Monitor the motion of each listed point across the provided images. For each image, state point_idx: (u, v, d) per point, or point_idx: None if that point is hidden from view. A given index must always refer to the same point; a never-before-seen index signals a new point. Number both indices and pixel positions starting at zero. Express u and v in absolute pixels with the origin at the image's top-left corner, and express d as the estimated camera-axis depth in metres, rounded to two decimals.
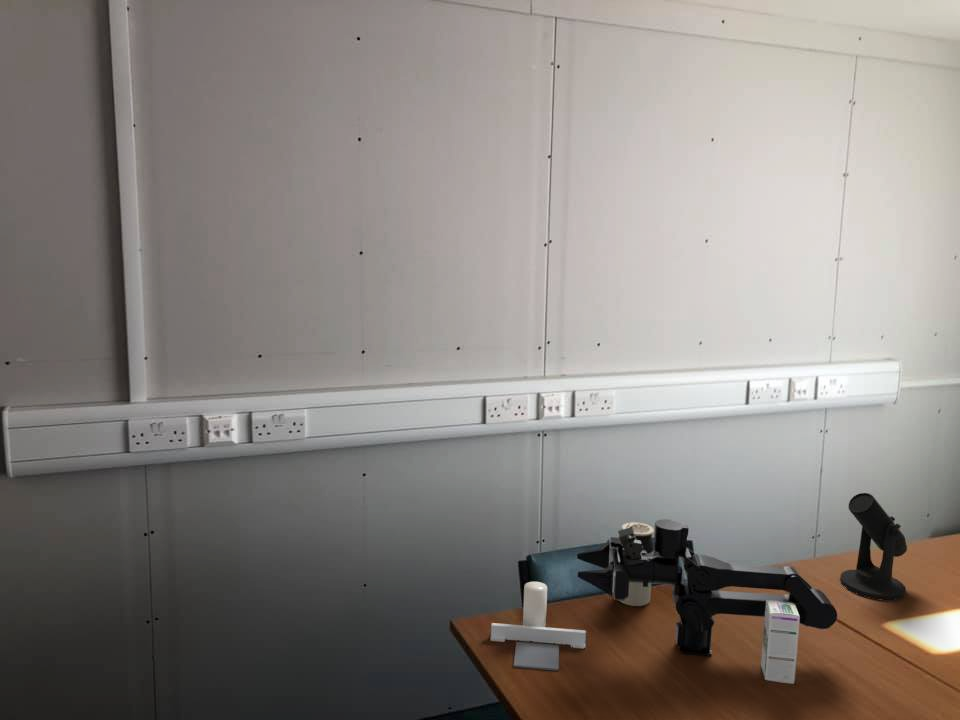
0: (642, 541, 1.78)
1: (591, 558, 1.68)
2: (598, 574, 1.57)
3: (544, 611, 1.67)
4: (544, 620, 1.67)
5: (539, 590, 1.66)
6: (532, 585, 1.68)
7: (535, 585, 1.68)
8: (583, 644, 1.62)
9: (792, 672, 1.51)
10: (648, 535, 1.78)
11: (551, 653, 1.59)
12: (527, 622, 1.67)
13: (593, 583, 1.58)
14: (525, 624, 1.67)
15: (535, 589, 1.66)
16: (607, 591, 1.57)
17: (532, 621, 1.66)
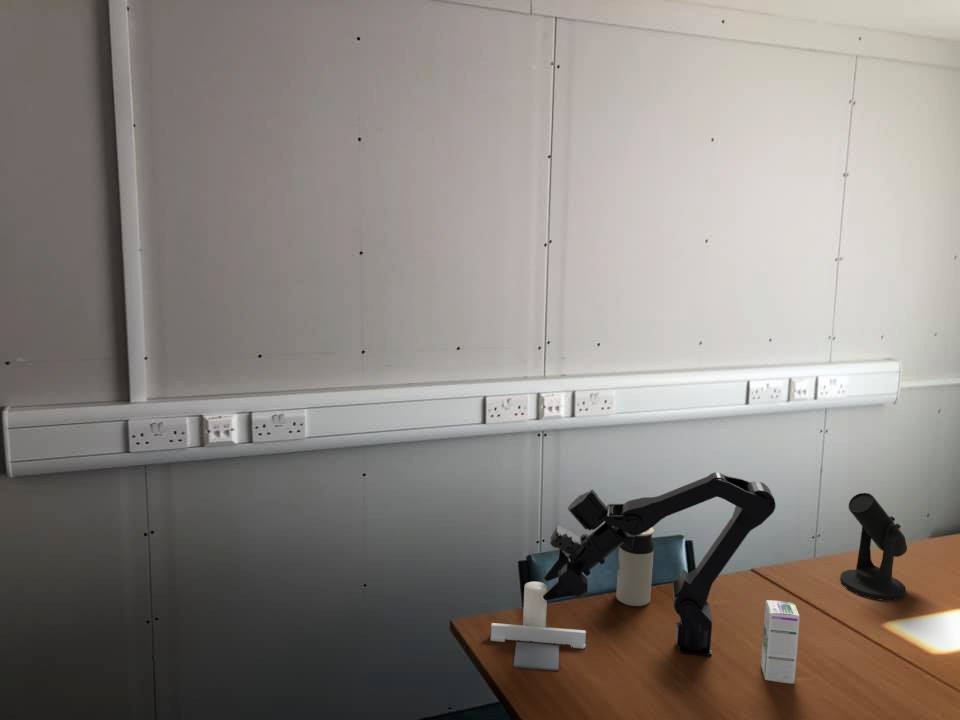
0: (642, 541, 1.78)
1: (557, 572, 1.71)
2: (556, 586, 1.60)
3: (544, 611, 1.67)
4: (544, 620, 1.67)
5: (539, 589, 1.66)
6: (532, 585, 1.68)
7: (536, 585, 1.68)
8: (583, 644, 1.62)
9: (792, 672, 1.51)
10: (648, 535, 1.78)
11: (551, 653, 1.59)
12: (527, 621, 1.67)
13: (559, 596, 1.61)
14: (525, 624, 1.67)
15: (535, 589, 1.66)
16: (573, 593, 1.60)
17: (532, 621, 1.66)
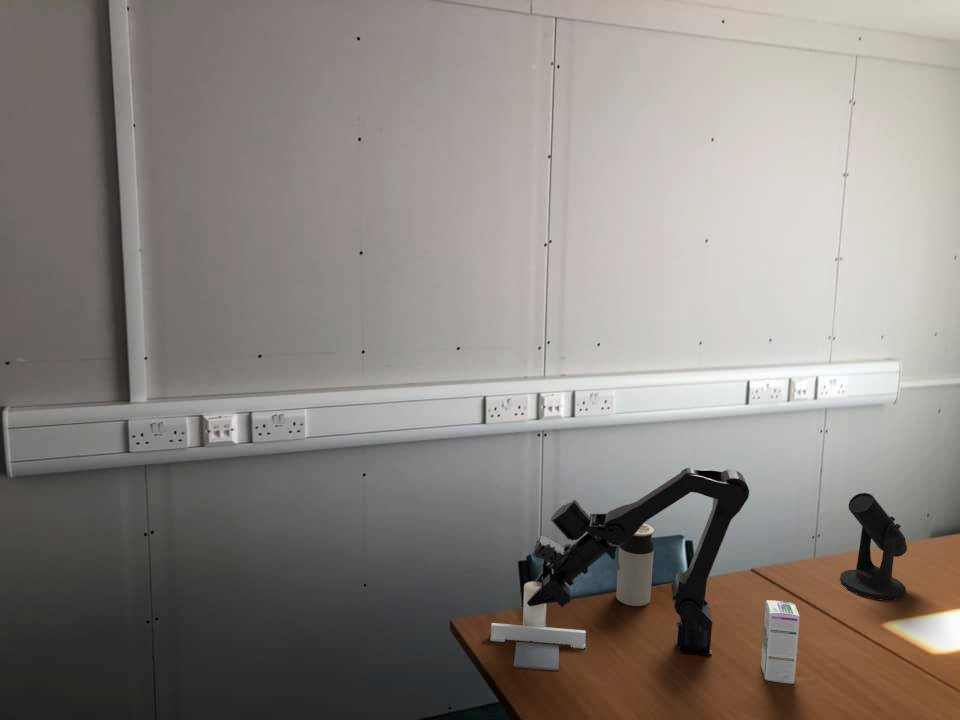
0: (642, 541, 1.78)
1: None
2: (539, 592, 1.63)
3: (544, 611, 1.67)
4: (544, 620, 1.67)
5: None
6: (532, 585, 1.68)
7: (535, 585, 1.68)
8: (583, 644, 1.62)
9: (792, 672, 1.51)
10: (648, 535, 1.78)
11: (551, 653, 1.59)
12: (527, 622, 1.67)
13: (543, 602, 1.64)
14: (525, 624, 1.67)
15: (535, 588, 1.66)
16: None
17: (532, 621, 1.66)
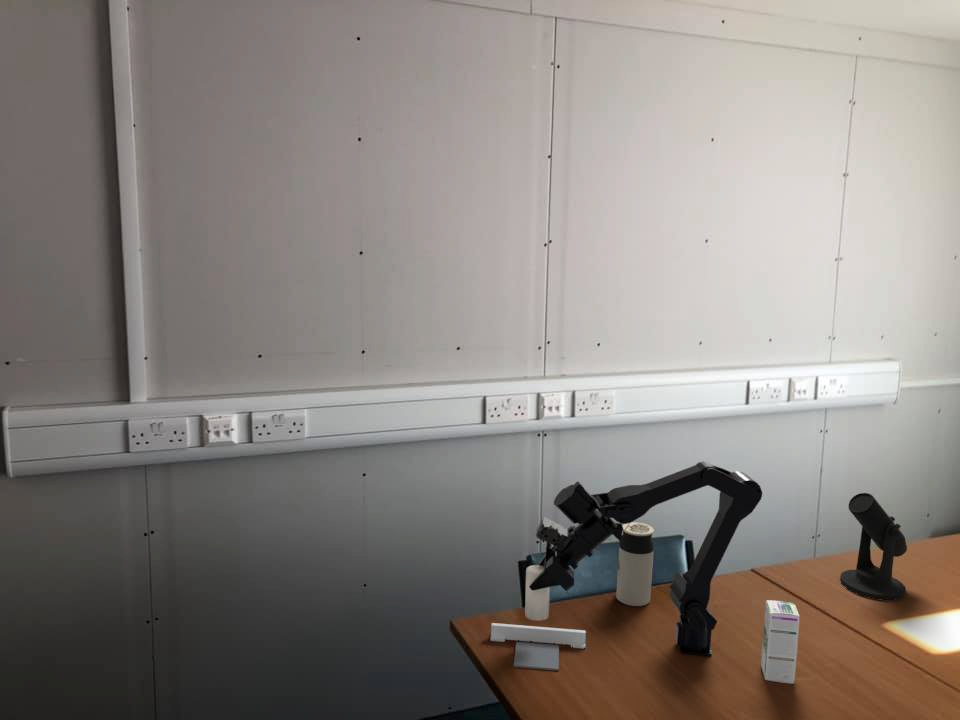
0: (642, 541, 1.78)
1: None
2: (542, 576, 1.56)
3: (547, 595, 1.60)
4: (547, 605, 1.61)
5: None
6: (535, 569, 1.61)
7: (538, 569, 1.61)
8: (583, 644, 1.62)
9: (792, 672, 1.51)
10: (648, 535, 1.78)
11: (551, 653, 1.59)
12: (529, 606, 1.60)
13: (546, 585, 1.57)
14: (527, 609, 1.61)
15: (537, 572, 1.60)
16: None
17: (534, 606, 1.59)
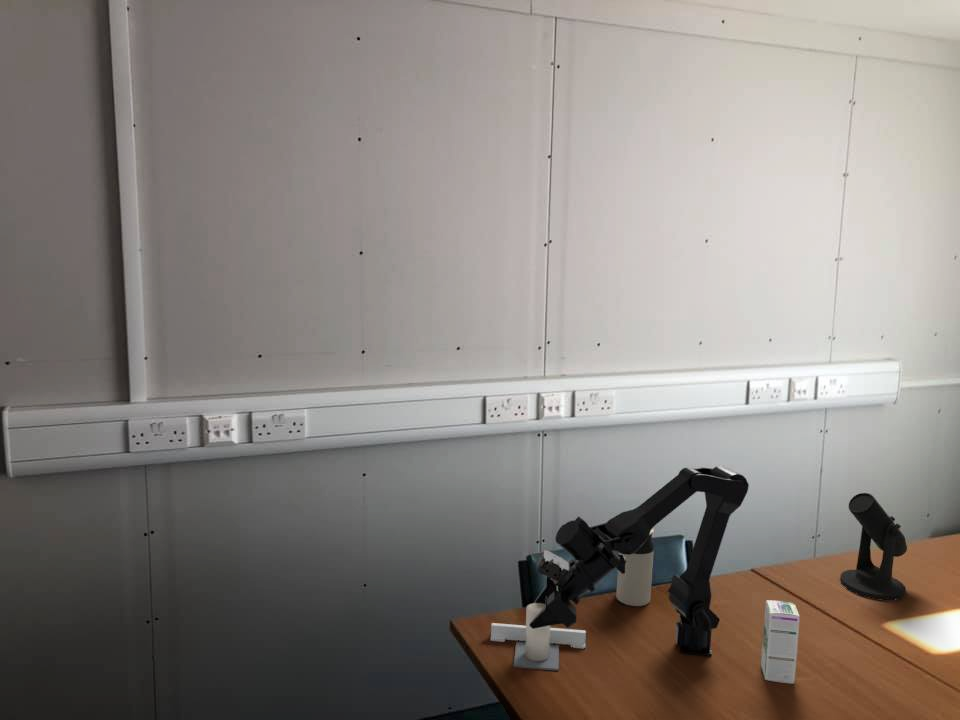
0: None
1: (544, 600, 1.60)
2: (543, 614, 1.51)
3: (548, 635, 1.56)
4: (548, 644, 1.56)
5: None
6: (535, 607, 1.57)
7: (538, 607, 1.57)
8: (583, 644, 1.62)
9: (792, 672, 1.51)
10: None
11: (551, 653, 1.59)
12: (530, 646, 1.56)
13: (547, 624, 1.51)
14: (528, 649, 1.56)
15: (538, 610, 1.56)
16: (561, 621, 1.50)
17: (535, 646, 1.55)
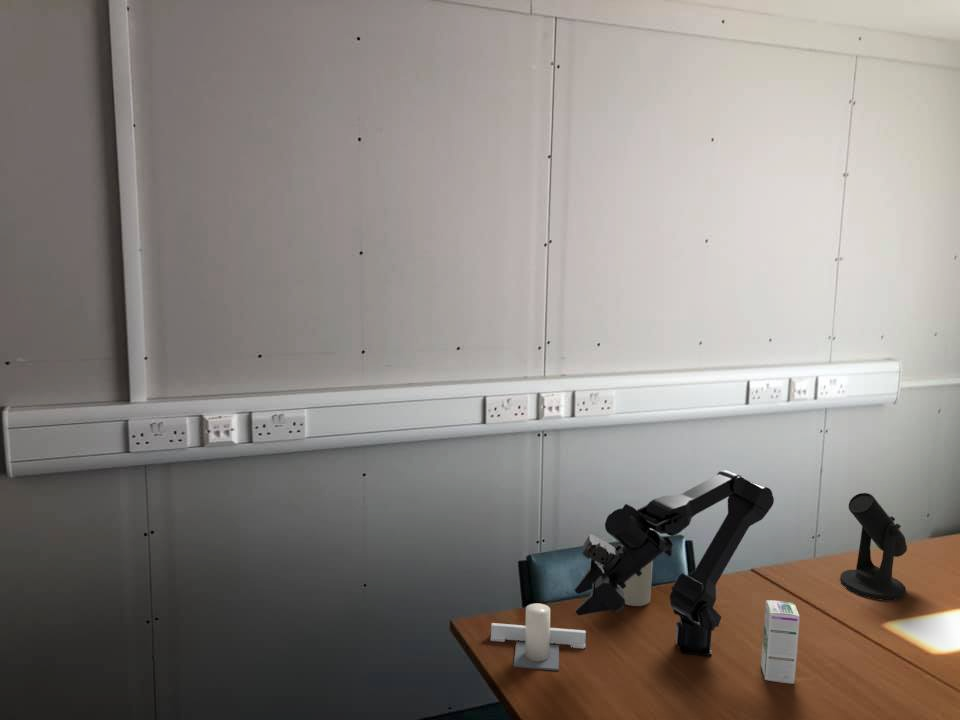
0: None
1: (588, 584, 1.59)
2: (589, 600, 1.48)
3: (548, 635, 1.56)
4: (548, 645, 1.56)
5: (541, 612, 1.55)
6: (534, 608, 1.57)
7: (538, 607, 1.57)
8: (583, 644, 1.62)
9: (792, 672, 1.51)
10: None
11: (551, 653, 1.59)
12: (530, 647, 1.56)
13: (593, 610, 1.49)
14: (528, 650, 1.56)
15: (537, 611, 1.55)
16: (608, 608, 1.48)
17: (535, 647, 1.55)
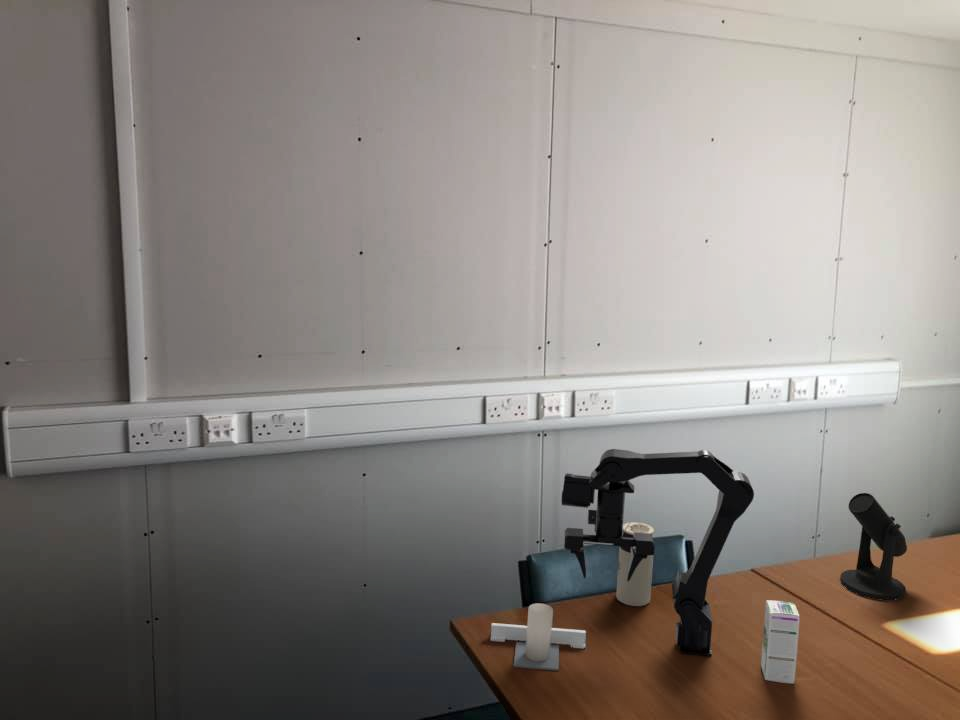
0: None
1: (629, 567, 1.64)
2: None
3: (549, 635, 1.56)
4: (549, 645, 1.56)
5: (544, 612, 1.55)
6: (537, 608, 1.57)
7: (540, 607, 1.57)
8: (583, 644, 1.62)
9: (792, 672, 1.51)
10: None
11: (551, 653, 1.59)
12: (531, 647, 1.56)
13: (580, 565, 1.64)
14: (529, 649, 1.56)
15: (540, 611, 1.55)
16: None
17: (537, 647, 1.55)
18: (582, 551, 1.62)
